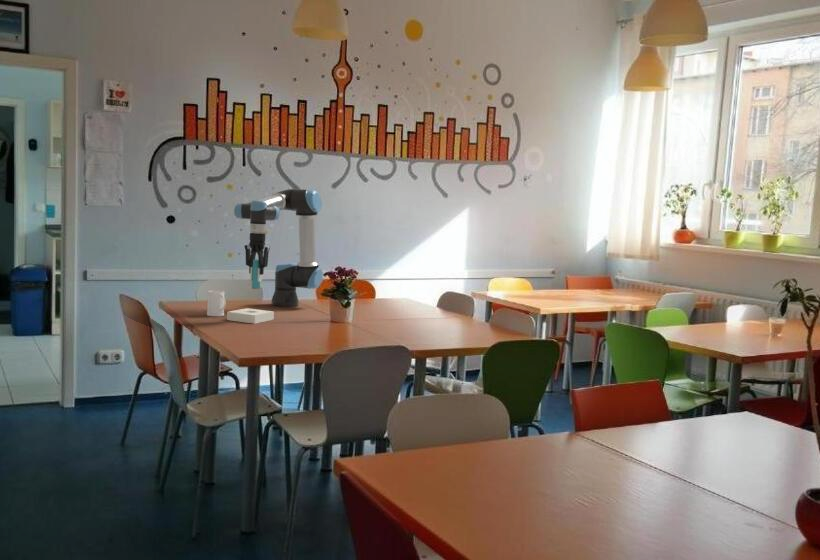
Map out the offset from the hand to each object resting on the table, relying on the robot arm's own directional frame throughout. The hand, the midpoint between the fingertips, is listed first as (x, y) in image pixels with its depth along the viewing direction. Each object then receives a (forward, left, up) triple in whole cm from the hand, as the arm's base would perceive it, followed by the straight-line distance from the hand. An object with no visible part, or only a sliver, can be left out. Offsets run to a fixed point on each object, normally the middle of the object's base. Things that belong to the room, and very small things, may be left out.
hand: (256, 280), depth 394 cm
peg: (0, 0, -4) cm, 4 cm away
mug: (-21, -2, -19) cm, 29 cm away
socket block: (-1, -2, -19) cm, 19 cm away
